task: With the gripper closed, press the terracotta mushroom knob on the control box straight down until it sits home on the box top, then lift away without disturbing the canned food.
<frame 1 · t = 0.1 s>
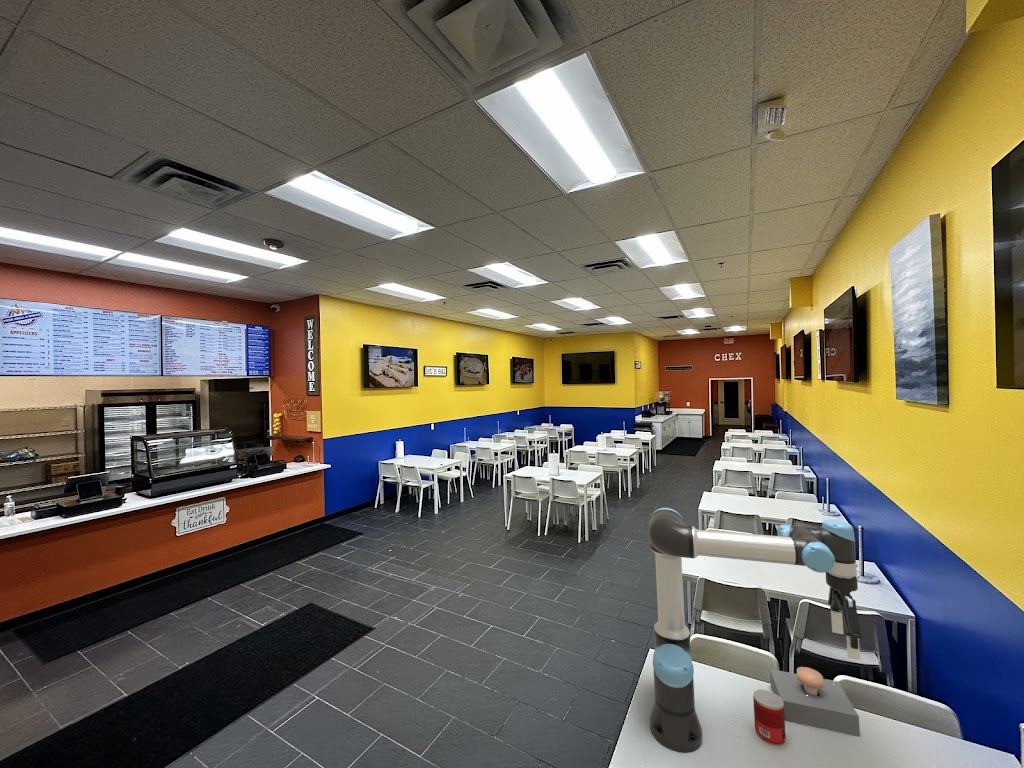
hand: (845, 645, 122), 28 cm above the table, fingers open, 13 cm apart
control box: (811, 709, 133), on the table
canned food: (770, 735, 124), on the table
knob: (810, 686, 134), point 7 cm above the table, slide at 0.0 cm
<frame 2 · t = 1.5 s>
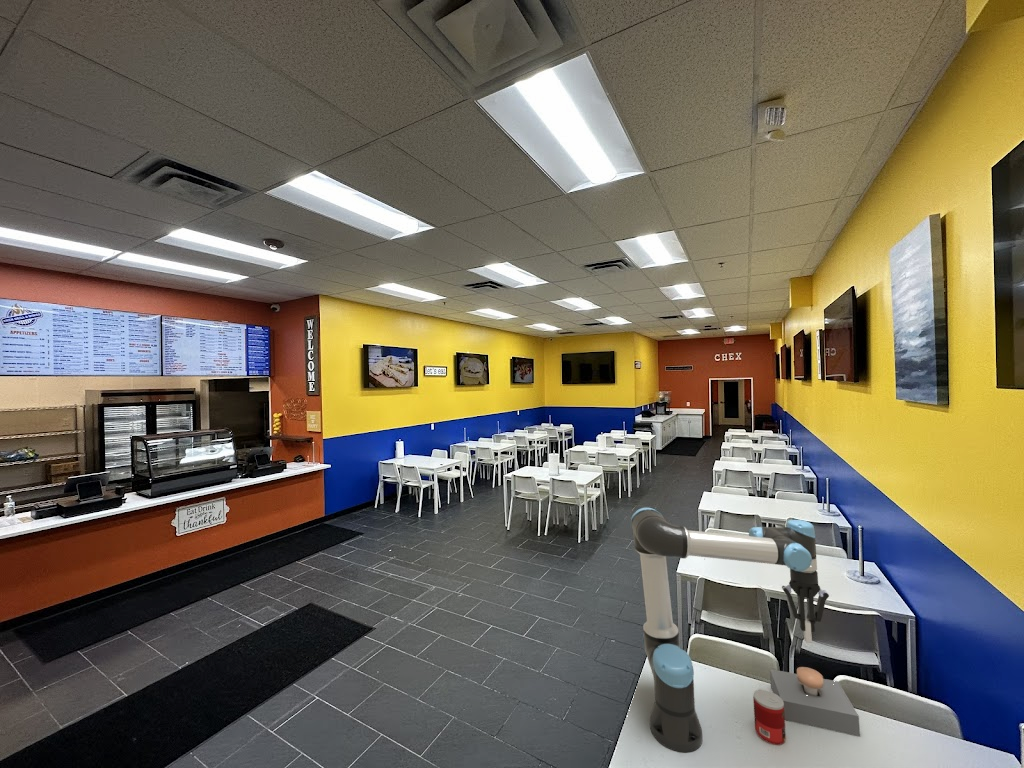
hand: (807, 640, 134), 22 cm above the table, fingers closed
nothing on the table moved.
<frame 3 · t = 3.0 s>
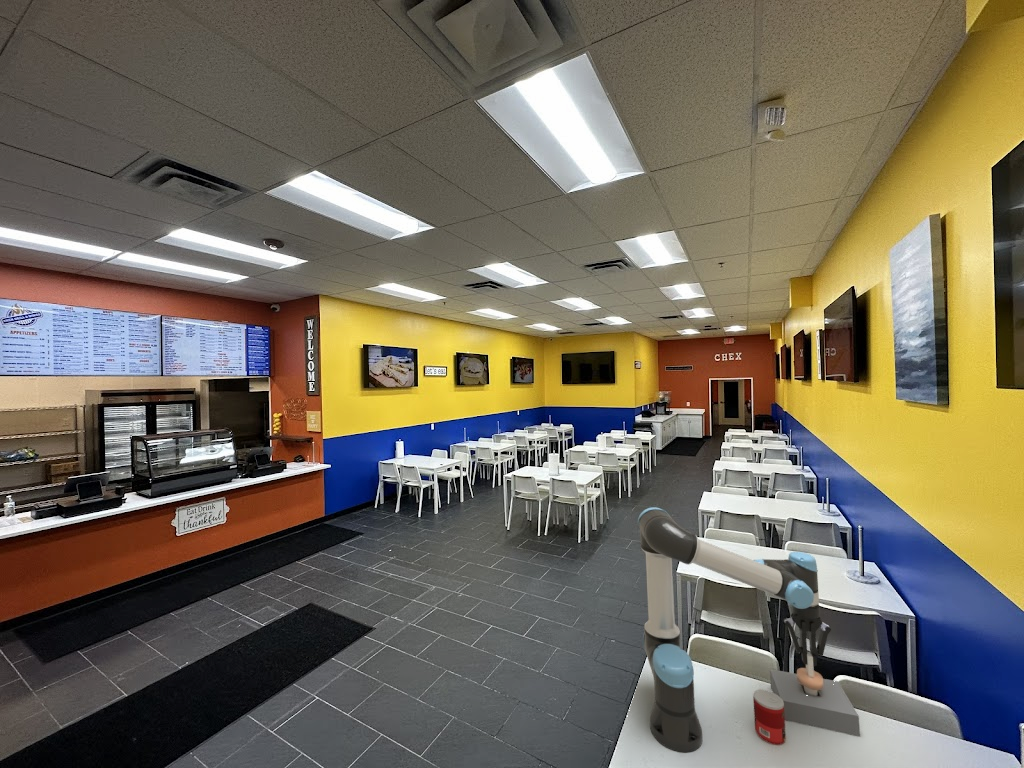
hand: (810, 674, 134), 11 cm above the table, fingers closed
knob: (810, 687, 134), point 7 cm above the table, slide at 0.4 cm, touching gripper
everything else where it was.
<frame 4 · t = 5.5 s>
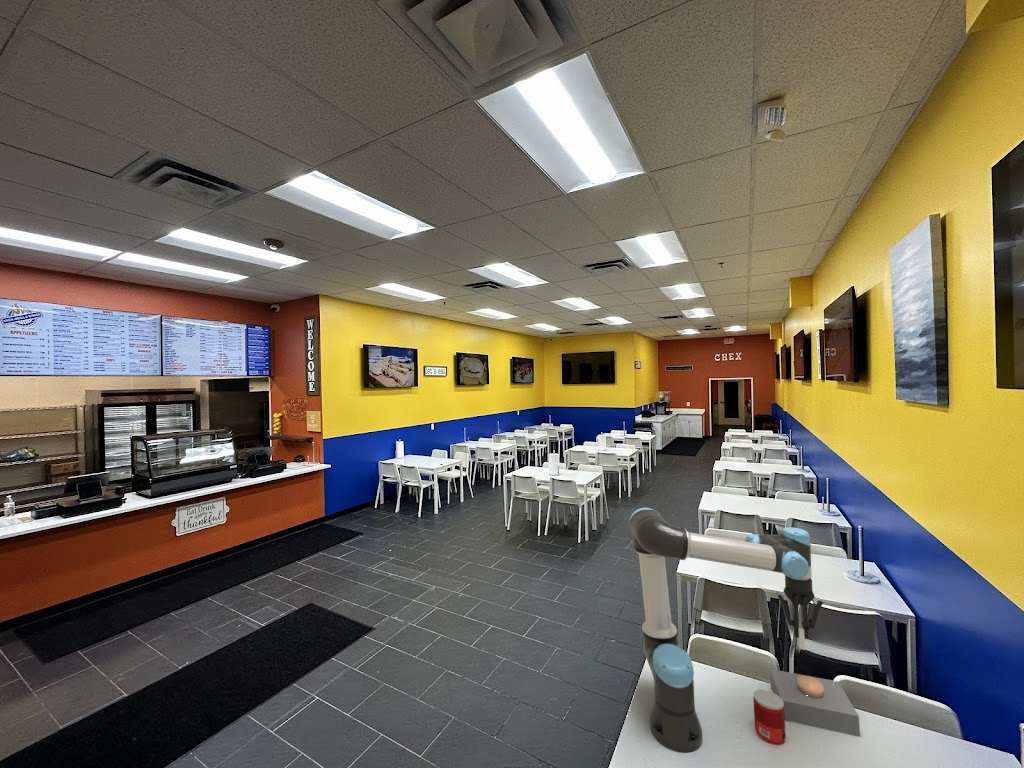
hand: (801, 647, 136), 19 cm above the table, fingers closed
knob: (810, 694, 134), point 5 cm above the table, slide at 2.8 cm
everything else where it was.
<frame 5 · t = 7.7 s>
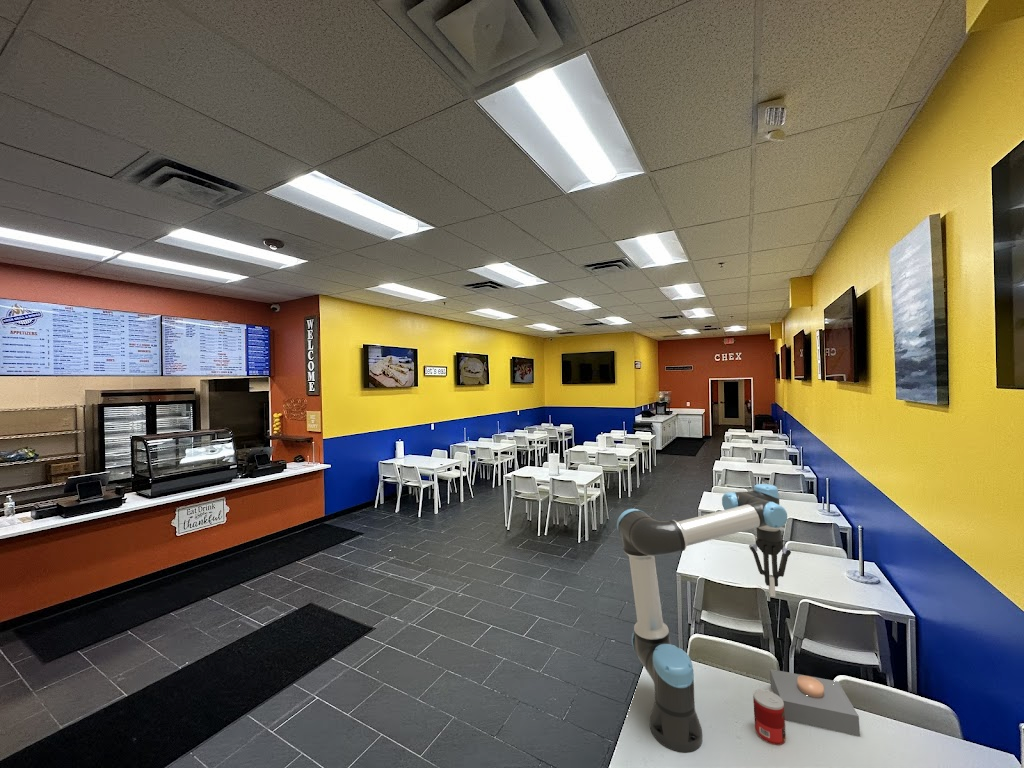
hand: (772, 594, 145), 32 cm above the table, fingers closed
nothing on the table moved.
at the end: knob slide at 2.8 cm; canned food moved 0.2 cm from its start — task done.
